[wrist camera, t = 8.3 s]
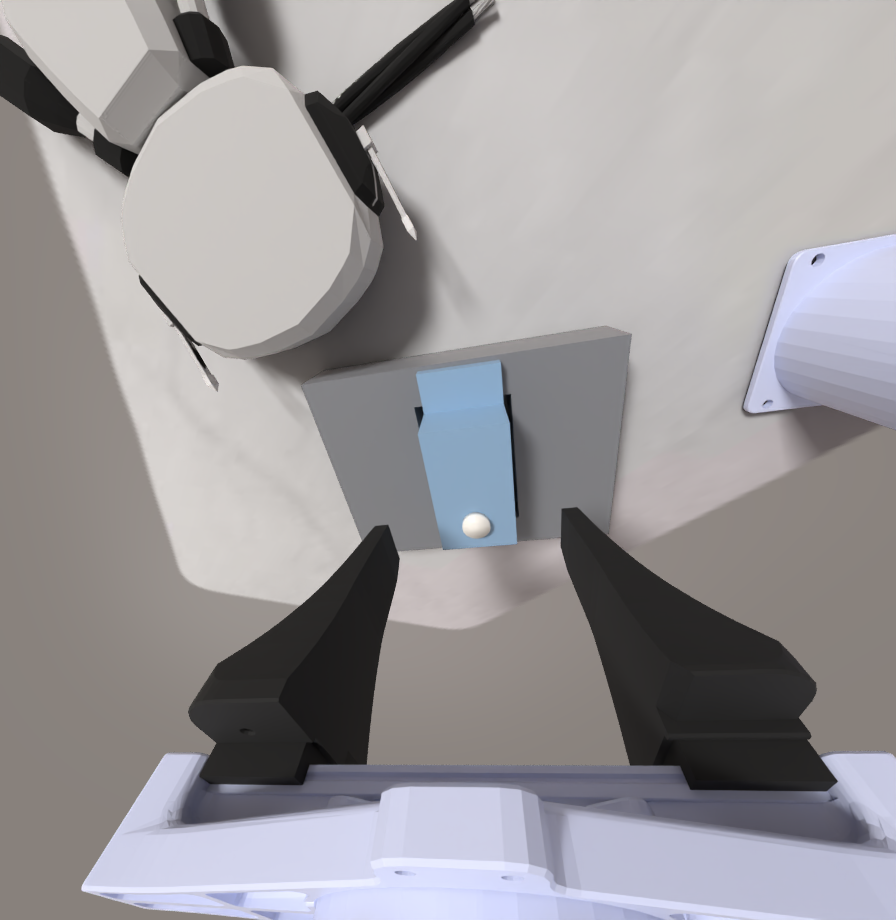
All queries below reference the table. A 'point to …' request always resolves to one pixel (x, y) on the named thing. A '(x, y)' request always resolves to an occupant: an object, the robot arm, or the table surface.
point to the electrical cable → (408, 59)
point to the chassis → (531, 428)
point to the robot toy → (208, 168)
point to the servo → (468, 454)
